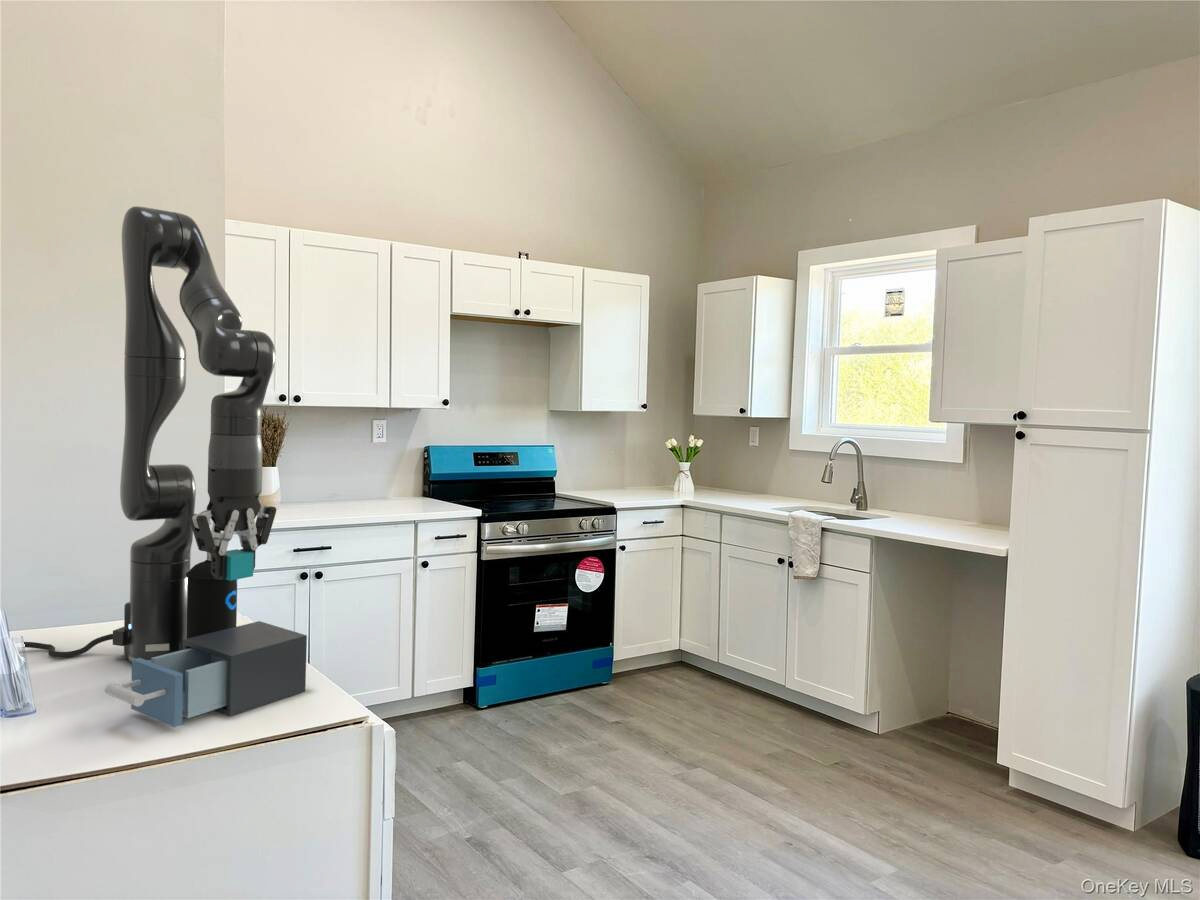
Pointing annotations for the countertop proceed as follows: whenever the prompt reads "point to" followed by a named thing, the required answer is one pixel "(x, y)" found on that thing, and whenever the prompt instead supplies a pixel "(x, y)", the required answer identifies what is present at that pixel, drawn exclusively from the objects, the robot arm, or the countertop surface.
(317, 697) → the countertop surface
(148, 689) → the blue drawer
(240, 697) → the dark grey drawer cabinet
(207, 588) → the aerosol can
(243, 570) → the teal cube
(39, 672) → the countertop surface
